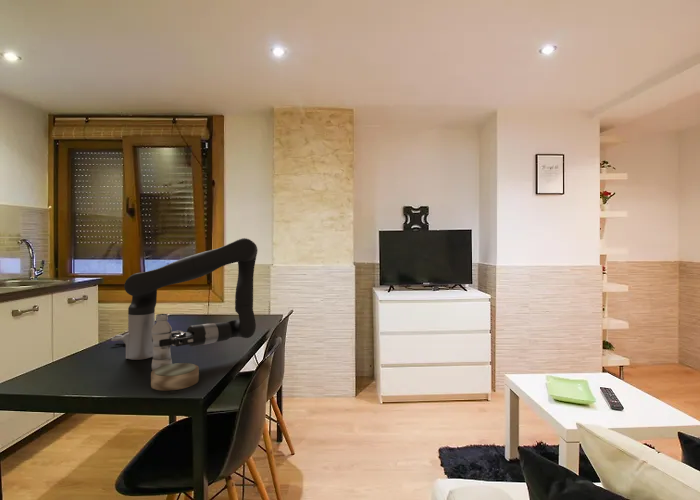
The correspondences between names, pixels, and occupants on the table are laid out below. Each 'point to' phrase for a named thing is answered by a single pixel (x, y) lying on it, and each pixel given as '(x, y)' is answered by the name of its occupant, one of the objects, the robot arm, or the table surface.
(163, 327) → the plastic bottle
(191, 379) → the wooden stand
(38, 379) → the table surface
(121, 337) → the bunny figurine
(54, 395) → the table surface
